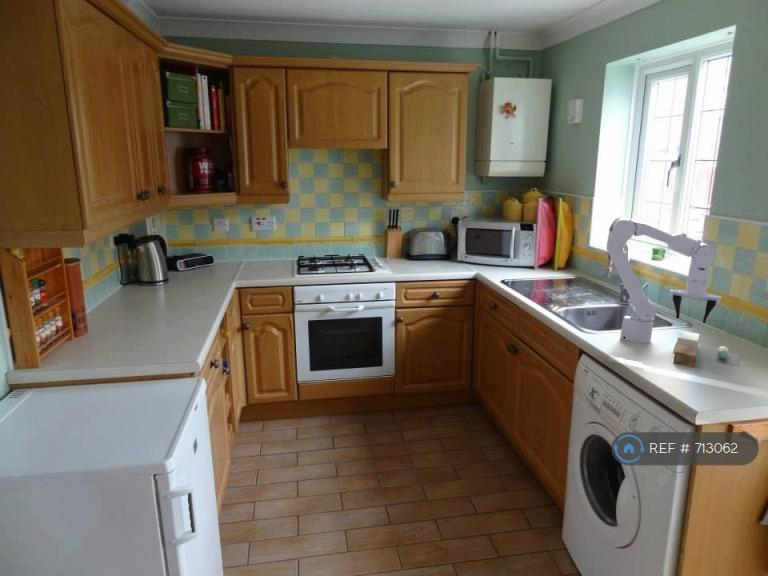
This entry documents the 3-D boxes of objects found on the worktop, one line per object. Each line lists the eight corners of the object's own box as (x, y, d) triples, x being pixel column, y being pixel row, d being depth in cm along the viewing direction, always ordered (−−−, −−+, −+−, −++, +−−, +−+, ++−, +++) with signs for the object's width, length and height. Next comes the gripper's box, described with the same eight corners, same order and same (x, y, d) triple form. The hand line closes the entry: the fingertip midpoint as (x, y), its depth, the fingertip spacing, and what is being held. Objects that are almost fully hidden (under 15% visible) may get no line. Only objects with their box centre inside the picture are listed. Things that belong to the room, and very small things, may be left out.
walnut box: (672, 367, 163) (675, 351, 162) (675, 358, 170) (678, 343, 169) (693, 371, 160) (696, 355, 159) (695, 362, 167) (698, 347, 166)
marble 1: (716, 355, 170) (718, 346, 169) (716, 352, 172) (718, 344, 172) (727, 357, 168) (729, 348, 168) (727, 355, 171) (729, 346, 170)
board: (671, 356, 171) (672, 353, 171) (675, 346, 181) (676, 342, 181) (738, 369, 162) (738, 366, 162) (738, 358, 172) (739, 354, 171)
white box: (675, 352, 172) (677, 337, 171) (677, 344, 179) (680, 330, 178) (695, 356, 169) (697, 341, 168) (697, 348, 176) (699, 333, 175)
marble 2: (716, 359, 167) (717, 350, 166) (716, 356, 169) (718, 347, 169) (727, 361, 165) (729, 352, 165) (727, 358, 168) (729, 349, 167)
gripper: (671, 279, 174) (664, 318, 178) (723, 285, 167) (715, 327, 170) (673, 275, 180) (667, 313, 183) (723, 281, 172) (716, 321, 176)
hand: (690, 320), depth 177 cm, fingers open, 7 cm apart
